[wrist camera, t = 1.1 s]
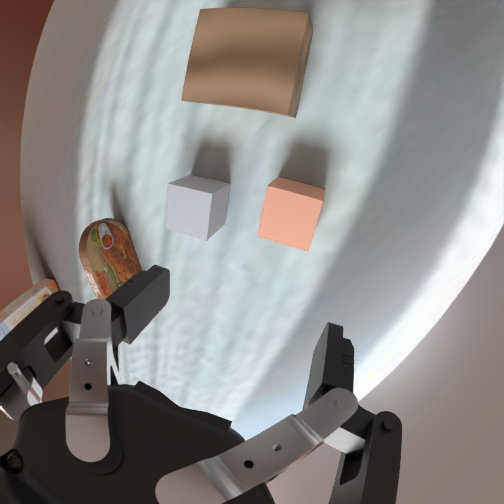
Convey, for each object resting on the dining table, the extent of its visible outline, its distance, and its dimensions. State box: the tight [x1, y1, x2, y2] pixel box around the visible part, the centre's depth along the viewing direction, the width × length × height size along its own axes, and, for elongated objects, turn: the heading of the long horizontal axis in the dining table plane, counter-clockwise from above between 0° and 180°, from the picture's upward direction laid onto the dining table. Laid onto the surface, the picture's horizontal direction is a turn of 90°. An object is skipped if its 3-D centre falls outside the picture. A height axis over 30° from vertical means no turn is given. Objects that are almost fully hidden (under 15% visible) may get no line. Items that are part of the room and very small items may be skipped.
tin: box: [79, 218, 142, 300], centre depth 35 cm, size 15×3×8 cm, turn 11°
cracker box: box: [0, 278, 59, 344], centre depth 45 cm, size 14×6×21 cm, turn 7°
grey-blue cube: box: [165, 175, 231, 241], centre depth 29 cm, size 5×5×5 cm
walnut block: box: [181, 8, 313, 118], centre depth 21 cm, size 10×10×5 cm
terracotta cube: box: [257, 177, 325, 251], centre depth 26 cm, size 5×5×5 cm
